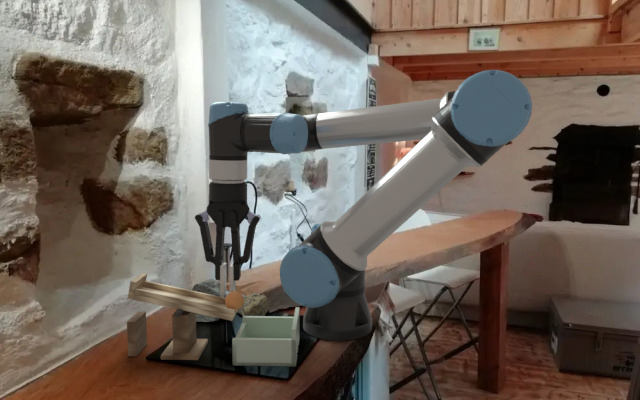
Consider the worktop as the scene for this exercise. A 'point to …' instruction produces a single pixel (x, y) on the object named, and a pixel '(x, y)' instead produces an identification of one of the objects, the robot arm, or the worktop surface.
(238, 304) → the brown egg
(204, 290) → the stone
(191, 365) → the worktop surface
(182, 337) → the fulcrum
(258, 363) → the bin
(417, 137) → the robot arm
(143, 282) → the lever
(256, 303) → the rock
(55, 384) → the worktop surface
